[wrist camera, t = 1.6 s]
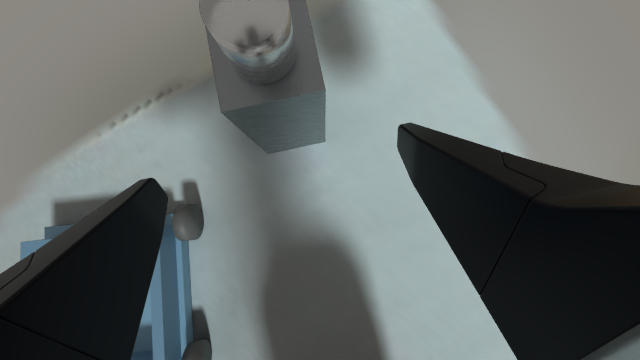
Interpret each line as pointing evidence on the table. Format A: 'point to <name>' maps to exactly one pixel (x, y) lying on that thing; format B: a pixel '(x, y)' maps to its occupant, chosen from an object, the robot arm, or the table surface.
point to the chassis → (163, 291)
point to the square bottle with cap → (267, 70)
